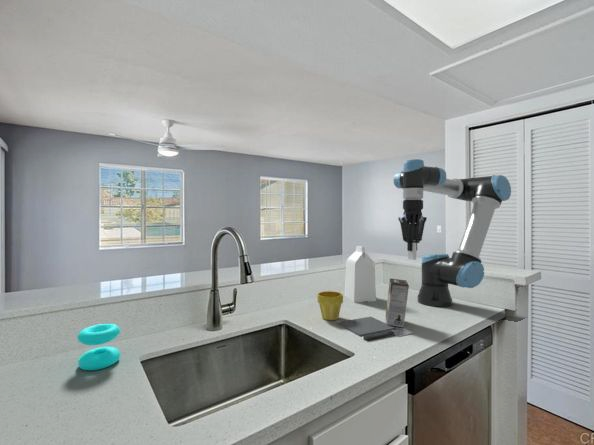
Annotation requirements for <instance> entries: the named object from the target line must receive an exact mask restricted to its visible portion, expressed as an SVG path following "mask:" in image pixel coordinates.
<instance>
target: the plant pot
mask: <svg viewBox="0 0 594 445" xmlns="http://www.w3.org/2000/svg"><path fill="white" fill-rule="evenodd" d="M316 295H317V303H318V304H319V308H320V309H319V310H320V313H321V318H322V319H323V320H325V321H336V320H338V319H339V318H340V313H341V307H342V304H343V303H344V294H343V293H342V292H340V291H333V290H328V291H327V290H326V291H325V290H324V291H320V292H318V293H317V294H316Z"/></svg>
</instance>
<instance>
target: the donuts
mask: <svg viewBox="0 0 594 445" xmlns="http://www.w3.org/2000/svg"><path fill="white" fill-rule="evenodd" d="M120 331H121V329H120V327H119V326H118V325H117V324H115V323H100V324H93V325H91V326H87V327H85V328H83V329H82V330H81V331H80V332H78V334H77V340H78V342H79V343H81V344H82V345H86V346H98V345H99V347H96V348H91V349H90V350H87V351H86V352H84V353H83V354H81V356H80V357H79V359H78V361H77V365H78V367H79V368H80V369H81V370H84V371H97V370H103V369H105V368H108V367H111V366H113V365H114V364H116V363H117V362H118V361H119V359H120V358H121V352H120V350H119V349H118V348H117V347H114V346H100V345H103V344H107V343H110V342H111V341H113V340H114V339H116V338H117V337H118V336H119V335H120Z"/></svg>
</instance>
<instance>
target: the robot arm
mask: <svg viewBox="0 0 594 445" xmlns="http://www.w3.org/2000/svg"><path fill="white" fill-rule="evenodd" d="M393 185H394V186H395V187H396V188H397V189H402V199H403V201H402V209H403V210H404V211H403V214H402V216H399V217H398V221H399V223H400V228H401V236H402V241H404V242H405V243H406V244H407V251H408V254H407V260H411V261H416V260H417V251H418V244H419V243H420V242H421V241H422V240H423V235H424V234H423V233H424V229H425V225H426V221H427V217H425V216H424V215H423V212H422V210H423V209H424V200H423V199H424V192H427V193H429V192H430V193H433V194H440V195H445V196H447V197H449V198H451V199H455V200H460V201H465V202H471V203H472V204H473V206H472V209H471V212H470V215H469V218H468V221H467V223H466V227H465V229H464V232H463V235H462V238H461V240H460V243H459V246H458V249H457V250H455V251H453V252H452V255H451V257H450V256H449V254H448V253H439V254H438V253H432V254H425V255H423V256H422V259H421V286H420V289H419V291H418V294H417V302H418V303H419V304H423V305H427V306H431V307H440V308H441V307H443V308H445V307H450V306H452V305H453V298H452V296H451V292H450V290H449V285H452V286H456V287H459V288H467V289H473V288H476V287H477V286H479V285H480V284H481V283H482V281H483V279H484V276H485V267H484V264H482V262H483V260H482V259H481V258H480V256H481V252H482V249H483V247H484V246H483V245H484V243H485V240H486V238H487V235H488V231H489V228H490V225H491V222H492V219H493V216H494V215H495V214H494V213H495V210H496V209H499V208H500V207H501V205H502V202H505V201H508V200H509V199H510V198H511V194H512V187H511V184H510V181H509V179H508V178H507V177H506V176H504V175H502V174H497V175H496V174H493V175H490V176H489V175H488V176H487V175H486V176H479V177H469V178H451V179H450V178H447V172H446V170H445V169H443V168H441V167H437V166H425V162H424V160H422V159H418V158H416V159H414V158H413V159H407V160H405V161H404V162H403V170H402V171H399V172H397V173H395V174H394V176H393Z"/></svg>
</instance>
